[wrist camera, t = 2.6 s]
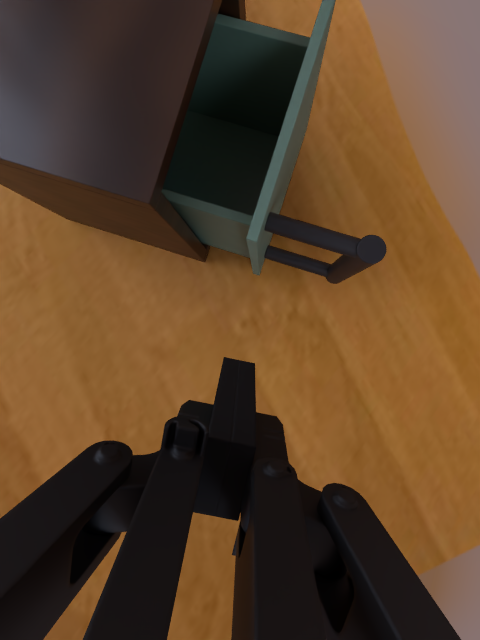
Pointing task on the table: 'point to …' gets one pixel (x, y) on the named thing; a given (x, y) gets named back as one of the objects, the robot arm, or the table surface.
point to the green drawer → (256, 147)
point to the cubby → (102, 108)
